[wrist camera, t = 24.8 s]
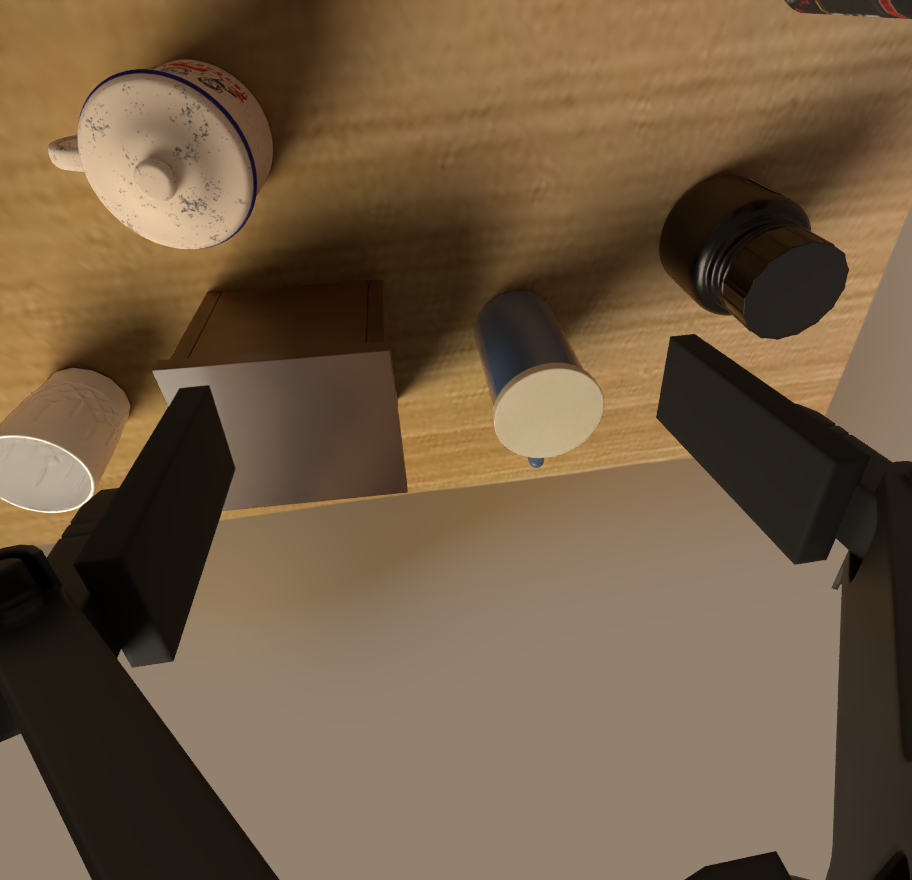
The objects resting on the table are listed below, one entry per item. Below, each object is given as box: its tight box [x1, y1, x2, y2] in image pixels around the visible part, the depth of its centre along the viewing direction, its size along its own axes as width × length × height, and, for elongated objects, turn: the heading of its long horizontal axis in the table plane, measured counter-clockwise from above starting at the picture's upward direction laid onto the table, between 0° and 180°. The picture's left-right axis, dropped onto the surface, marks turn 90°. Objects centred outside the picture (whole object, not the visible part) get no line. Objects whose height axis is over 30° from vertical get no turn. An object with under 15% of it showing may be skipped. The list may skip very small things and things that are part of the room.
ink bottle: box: [659, 175, 849, 340], centre depth 41 cm, size 10×9×12 cm
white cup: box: [0, 368, 130, 513], centre depth 45 cm, size 8×8×10 cm
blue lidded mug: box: [474, 291, 604, 468], centre depth 45 cm, size 8×11×13 cm
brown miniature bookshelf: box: [152, 280, 408, 511], centre depth 43 cm, size 15×13×12 cm
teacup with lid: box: [48, 60, 273, 249], centre depth 32 cm, size 12×9×12 cm
